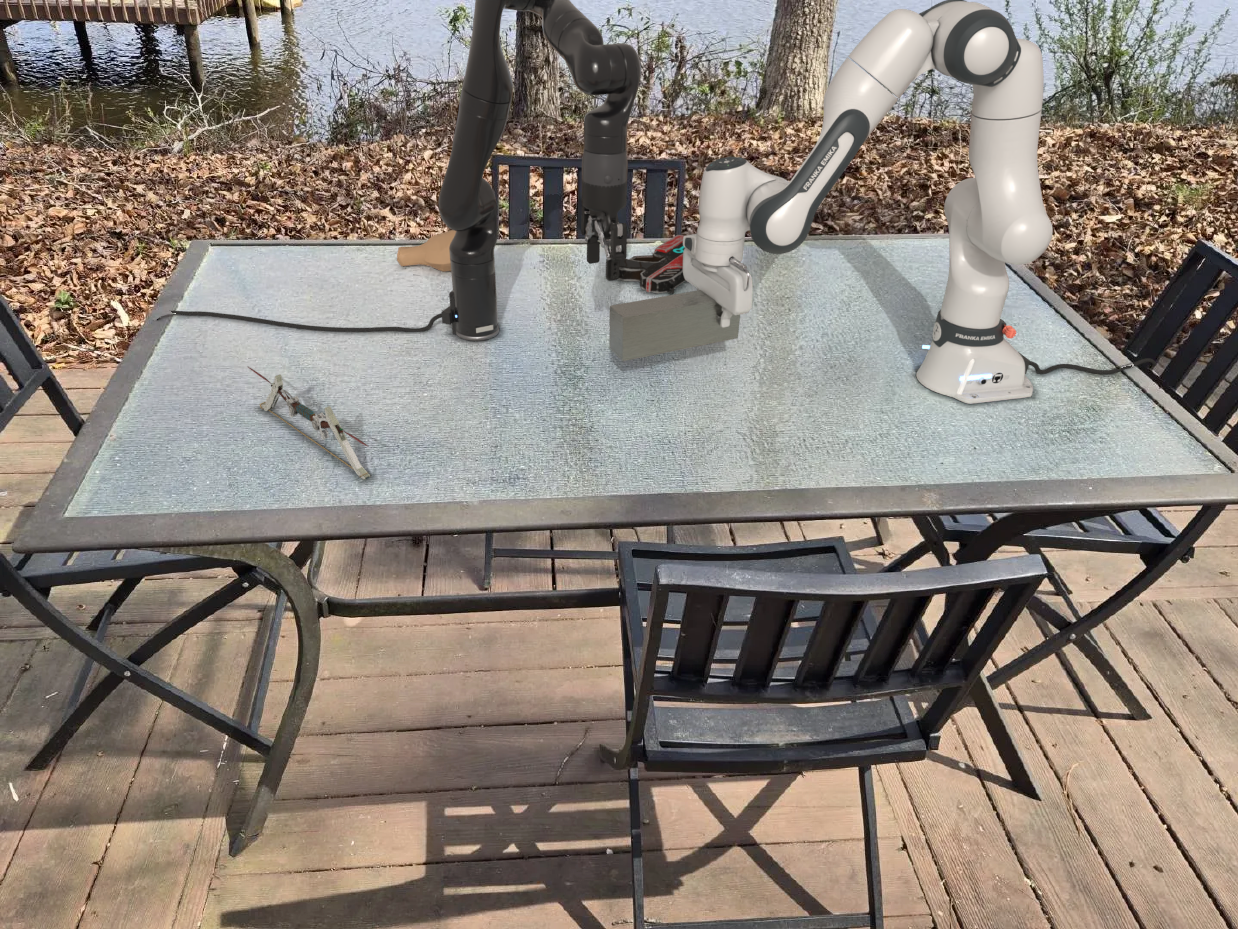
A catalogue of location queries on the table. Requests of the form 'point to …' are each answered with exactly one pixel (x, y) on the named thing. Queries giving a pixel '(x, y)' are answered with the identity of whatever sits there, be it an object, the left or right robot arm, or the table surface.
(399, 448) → the table surface
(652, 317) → the bar
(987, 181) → the right robot arm
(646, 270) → the gun
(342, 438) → the bow
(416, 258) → the squash
